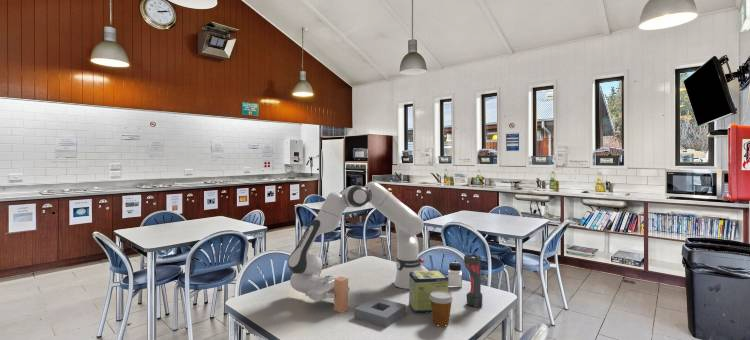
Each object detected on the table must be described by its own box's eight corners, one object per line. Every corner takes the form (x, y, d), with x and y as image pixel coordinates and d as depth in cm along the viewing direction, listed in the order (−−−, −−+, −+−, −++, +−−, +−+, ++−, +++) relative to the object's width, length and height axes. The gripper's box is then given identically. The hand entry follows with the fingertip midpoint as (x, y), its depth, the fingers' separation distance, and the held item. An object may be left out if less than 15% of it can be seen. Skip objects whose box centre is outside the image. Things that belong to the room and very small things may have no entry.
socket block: (375, 305, 171) (375, 296, 171) (406, 313, 162) (406, 304, 162) (354, 317, 158) (354, 308, 158) (386, 327, 149) (386, 317, 149)
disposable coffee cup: (426, 318, 158) (427, 290, 157) (448, 318, 158) (449, 290, 158) (432, 329, 148) (432, 299, 148) (455, 328, 149) (456, 298, 149)
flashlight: (461, 301, 177) (461, 253, 176) (477, 301, 178) (477, 253, 177) (466, 308, 169) (467, 257, 168) (483, 307, 170) (484, 257, 169)
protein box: (448, 312, 165) (449, 277, 164) (414, 314, 162) (414, 278, 162) (440, 303, 175) (441, 270, 174) (408, 304, 172) (408, 271, 172)
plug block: (340, 307, 169) (340, 276, 169) (348, 309, 167) (348, 278, 166) (334, 310, 165) (334, 279, 165) (341, 312, 163) (342, 281, 163)
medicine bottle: (461, 288, 195) (462, 265, 194) (447, 287, 196) (448, 264, 196) (461, 283, 202) (461, 261, 201) (448, 282, 203) (448, 260, 203)
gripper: (302, 286, 165) (326, 293, 157) (332, 274, 182) (355, 279, 174) (302, 300, 165) (326, 307, 157) (332, 287, 182) (355, 293, 174)
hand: (342, 293), depth 166 cm, fingers open, 8 cm apart
